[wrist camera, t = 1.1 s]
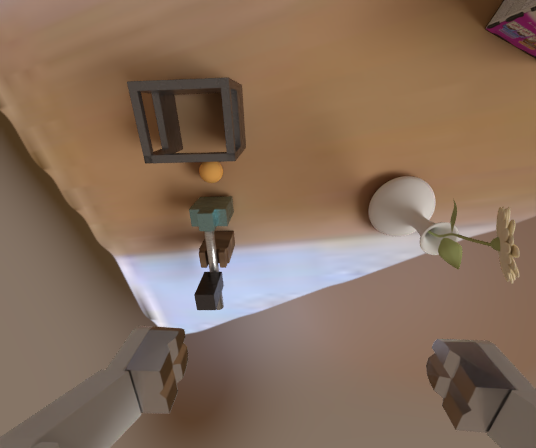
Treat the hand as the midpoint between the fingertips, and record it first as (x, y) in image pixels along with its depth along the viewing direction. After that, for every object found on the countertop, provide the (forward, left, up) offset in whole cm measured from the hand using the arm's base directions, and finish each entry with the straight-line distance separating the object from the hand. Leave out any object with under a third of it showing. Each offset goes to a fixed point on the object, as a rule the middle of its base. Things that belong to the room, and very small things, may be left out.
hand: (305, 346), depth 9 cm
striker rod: (+2, -21, -39) cm, 44 cm away
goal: (-13, -4, -40) cm, 42 cm away
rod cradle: (+1, -21, -40) cm, 45 cm away
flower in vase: (+22, +6, -40) cm, 46 cm away
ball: (-8, -10, -38) cm, 40 cm away
